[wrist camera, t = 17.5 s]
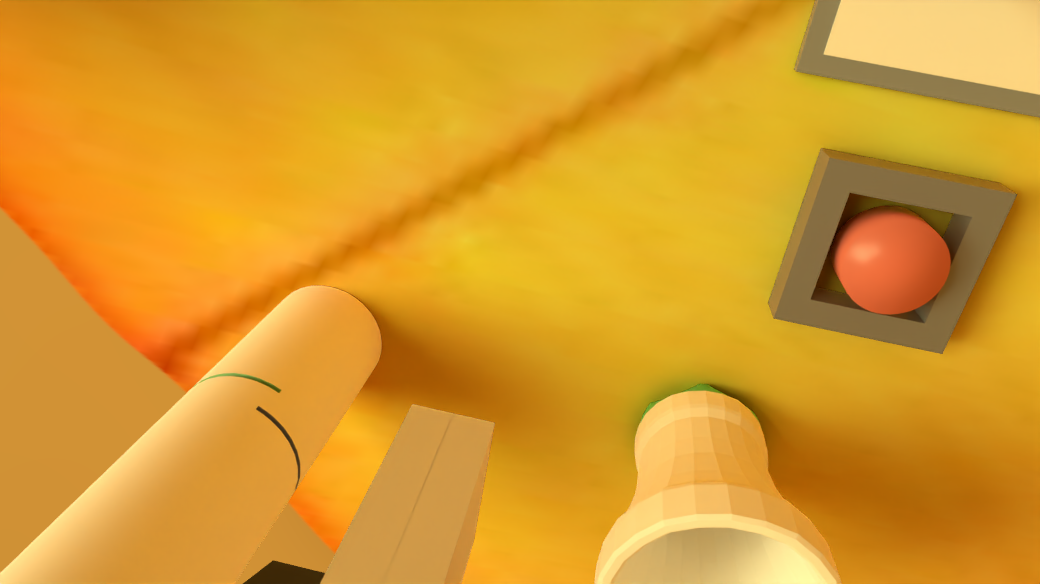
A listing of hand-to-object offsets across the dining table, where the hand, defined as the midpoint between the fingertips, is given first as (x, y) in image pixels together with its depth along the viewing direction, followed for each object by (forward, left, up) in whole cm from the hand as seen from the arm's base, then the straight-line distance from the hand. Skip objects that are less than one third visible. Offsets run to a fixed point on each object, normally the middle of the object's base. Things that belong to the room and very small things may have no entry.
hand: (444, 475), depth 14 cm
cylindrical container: (-13, -16, -30) cm, 36 cm away
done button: (+17, -3, -29) cm, 33 cm away
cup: (+11, -17, -30) cm, 36 cm away
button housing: (+17, -3, -29) cm, 34 cm away
